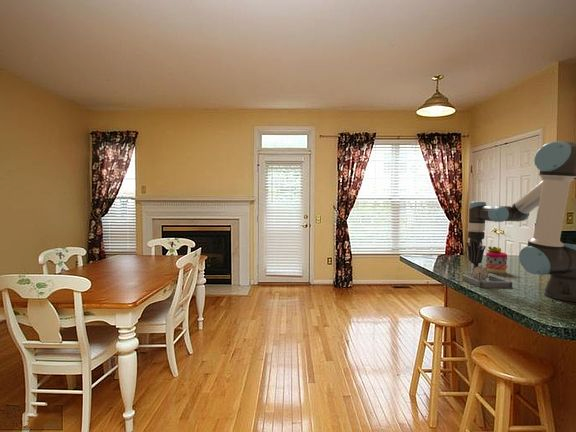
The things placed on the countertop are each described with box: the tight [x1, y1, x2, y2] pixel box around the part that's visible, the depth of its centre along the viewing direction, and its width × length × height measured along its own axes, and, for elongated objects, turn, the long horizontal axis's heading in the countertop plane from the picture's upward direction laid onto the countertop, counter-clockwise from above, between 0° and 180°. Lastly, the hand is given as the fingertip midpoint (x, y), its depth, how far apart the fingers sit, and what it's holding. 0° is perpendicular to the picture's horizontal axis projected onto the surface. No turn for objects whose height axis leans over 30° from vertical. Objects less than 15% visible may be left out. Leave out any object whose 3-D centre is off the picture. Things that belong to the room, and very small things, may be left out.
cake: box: [485, 245, 508, 275], centre depth 191 cm, size 10×10×15 cm
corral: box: [461, 274, 513, 288], centre depth 163 cm, size 15×15×2 cm
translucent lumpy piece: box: [469, 264, 491, 282], centre depth 167 cm, size 9×8×10 cm
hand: (474, 275), depth 173 cm, fingers closed
